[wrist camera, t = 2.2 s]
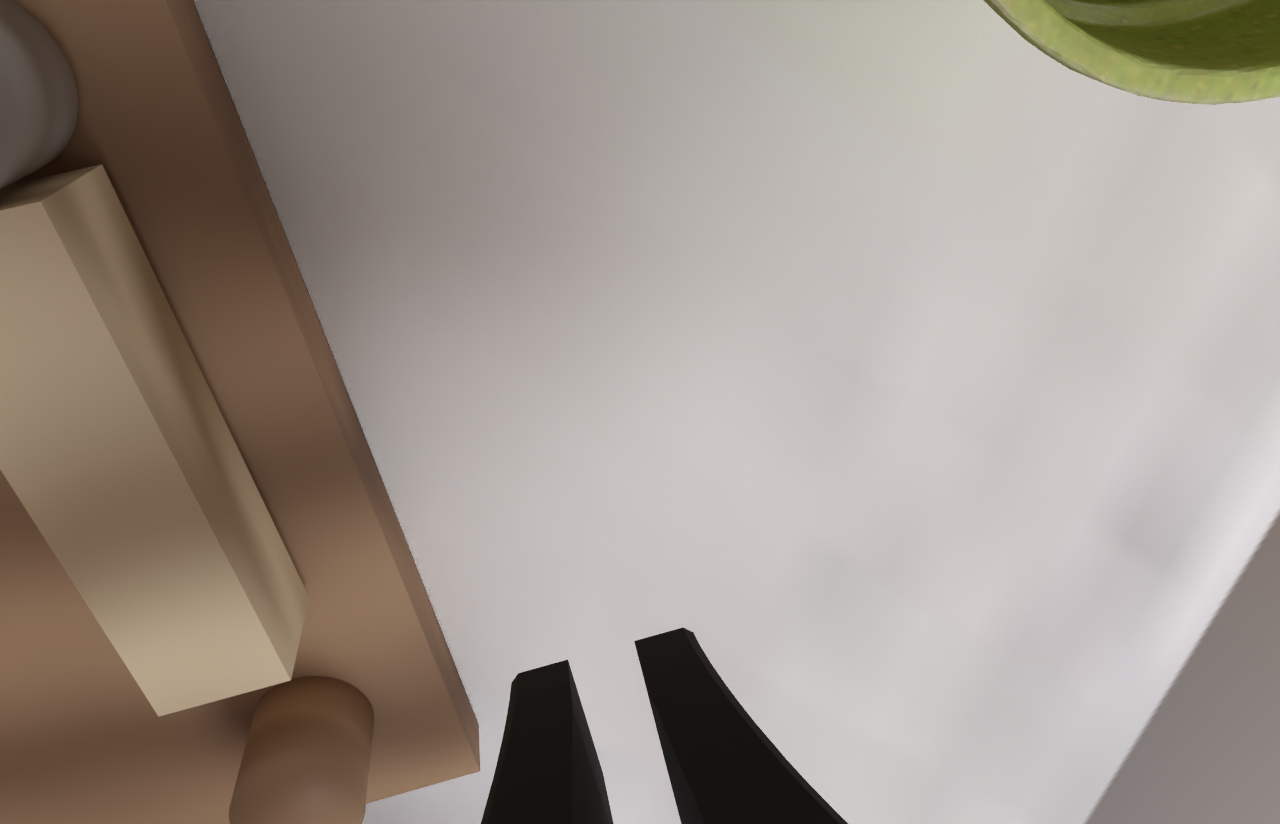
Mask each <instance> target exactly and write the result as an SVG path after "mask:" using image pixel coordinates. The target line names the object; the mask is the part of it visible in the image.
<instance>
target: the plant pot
mask: <svg viewBox="0 0 1280 824" xmlns="http://www.w3.org/2000/svg"><path fill="white" fill-rule="evenodd" d="M984 1H985V2H986V3H987V4H988V5H989V6H990V7H991V8H992V9H993V10H994V11H995V12H996V13H997V14H998V15H999V16H1000V17H1001V18H1002V19H1004V20H1005V21H1006V22H1007V23H1008V24H1009V25H1010V26H1011V27H1012V28H1013V29H1014V30H1015V31H1016V32H1017V33H1018V34H1020V35H1021V36H1022V37H1023V38H1024V39H1025V40H1027V41H1028V42H1029V43H1031V44H1032V45H1033V46H1035V47H1036V48H1038V49H1039V50H1040V51H1042V52H1043V53H1045V54H1046V55H1048V56H1050V57H1051V58H1053V59H1054V60H1056V61H1058V62H1059V63H1061V64H1062V65H1064V66H1066V67H1067V68H1069V69H1071V70H1073V71H1076V72H1078V73H1080V74H1083V75H1085V76H1087V77H1090V78H1092V79H1094V80H1097V81H1099V82H1102V83H1104V84H1107V85H1109V86H1112V87H1115V88H1118V89H1121V90H1124V91H1127V92H1130V93H1133V94H1136V95H1138V96H1144V97H1148V98H1153V99H1158V100H1164V101H1172V102H1182V103H1193V104H1214V105H1215V104H1223V103H1240V102H1248V101H1255V100H1262V99H1267V98H1273V97H1279V96H1280V0H984Z"/></svg>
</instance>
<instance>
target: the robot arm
mask: <svg viewBox="0 0 1280 824" xmlns="http://www.w3.org/2000/svg"><path fill="white" fill-rule="evenodd" d="M635 645H636V649H637V653H638V657H639V661H640V665H641V668H642V672H643V676H644V680H645V684H646V688H647V692H648V696H649V700H650V704H651V708H652V711H653V715H654V719H655V723H656V727H657V731H658V735H659V739H660V743H661V747H662V751H663V755H664V758H665V762H666V766H667V770H668V774H669V777H670V781H671V785H672V789H673V793H674V797H675V800H676V804H677V808H678V812H679V816H680V820H681V823H682V824H848V823H847V822H846V821H845V820H844V819H843V818H842V817H841V816H840V815H839V814H838V813H837V812H836V811H835V810H834V809H833V808H832V807H831V806H830V805H829V804H828V803H827V802H826V801H825V800H824V799H823V798H822V797H821V796H820V795H819V794H818V793H817V792H816V791H815V790H814V789H813V788H812V787H811V786H810V785H809V784H808V783H807V781H806V780H805V779H804V778H803V777H802V776H801V775H800V774H799V773H798V772H797V771H796V769H795V768H794V767H793V766H792V765H791V764H790V763H789V762H788V761H787V760H786V758H785V757H784V756H783V755H782V754H781V753H780V751H779V750H778V749H777V748H776V747H775V746H774V744H773V743H772V742H771V741H770V740H769V739H768V737H767V736H766V735H765V734H764V733H763V732H762V730H761V729H760V728H759V727H758V726H757V725H756V723H755V722H754V721H753V720H752V718H751V717H750V716H749V715H748V713H747V712H746V711H745V710H744V708H743V707H742V706H741V705H740V703H739V702H738V701H737V699H736V698H735V697H734V695H733V694H732V693H731V691H730V690H729V689H728V687H727V686H726V685H725V683H724V682H723V680H722V679H721V678H720V676H719V675H718V673H717V672H716V670H715V669H714V667H713V666H712V664H711V663H710V661H709V660H708V658H707V657H706V655H705V653H704V652H703V650H702V648H701V647H700V645H699V643H698V641H697V639H696V637H695V635H694V633H693V632H691V631H689V630H687V629H685V628H680V629H677V630H673V631H669V632H666V633H662V634H659V635H655V636H651V637H648V638H644V639H641V640H637V641H635ZM481 824H613V820H612V815H611V810H610V806H609V801H608V796H607V791H606V787H605V782H604V777H603V772H602V769H601V766H600V763H599V760H598V756H597V753H596V750H595V747H594V743H593V740H592V737H591V734H590V730H589V727H588V724H587V721H586V717H585V714H584V711H583V708H582V704H581V701H580V698H579V695H578V692H577V688H576V685H575V682H574V679H573V675H572V672H571V669H570V666H569V662H568V660H565V661H562V662H558V663H554V664H551V665H547V666H544V667H540V668H536V669H533V670H529V671H526V672H522V673H519V674H518V675H517V676H516V678H515V679H514V680H513V682H512V685H511V693H510V701H509V708H508V714H507V719H506V725H505V730H504V735H503V740H502V744H501V749H500V753H499V757H498V762H497V766H496V770H495V774H494V778H493V782H492V786H491V789H490V793H489V796H488V800H487V804H486V807H485V811H484V815H483V818H482V822H481Z"/></svg>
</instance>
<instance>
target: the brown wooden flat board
mask: <svg viewBox="0 0 1280 824" xmlns="http://www.w3.org/2000/svg"><path fill="white" fill-rule="evenodd" d="M12 1H14V2H15V3H17V4H19V5H20V6H21V7H22V8H24V9H25V10H26V11H28V12H29V13H30V14H31V15H32V16H34V17H35V18H36V19H37V20H38V21H39V22H40V23H41V24H42V25H43V26H44V27H45V29H46V30H47V31H48V32H49V33H50V34H51V36H52V37H53V38H54V40H55V41H56V42H57V44H58V45H59V47H60V48H61V50H62V52H63V54H64V55H65V57H66V59H67V61H68V63H69V66H70V68H71V71H72V73H73V76H74V80H75V84H76V87H77V95H78V115H77V122H76V126H75V129H74V132H73V135H72V137H71V139H70V140H69V142H68V144H67V146H66V147H65V148H64V150H63V151H62V152H61V153H60V154H59V155H58V156H57V157H56V158H55V159H54V160H53V161H52V162H50V163H49V164H47V165H46V166H44V167H42V168H41V169H39V170H37V171H35V172H33V173H31V174H29V175H27V176H25V177H23V178H22V179H20V180H18V181H16V182H14V183H12V184H17V183H21V182H26V181H30V180H34V179H39V178H43V177H48V176H52V175H56V174H61V173H65V172H70V171H74V170H78V169H83V168H87V167H92V166H96V165H101V164H102V165H103V167H104V169H105V172H106V174H107V176H108V178H109V180H110V182H111V184H112V186H113V188H114V190H115V192H116V194H117V197H118V199H119V201H120V203H121V205H122V207H123V209H124V211H125V213H126V215H127V217H128V220H129V222H130V224H131V226H132V228H133V230H134V232H135V234H136V236H137V238H138V240H139V243H140V245H141V247H142V249H143V251H144V253H145V255H146V257H147V259H148V261H149V263H150V266H151V268H152V270H153V272H154V274H155V276H156V278H157V280H158V282H159V284H160V286H161V288H162V291H163V293H164V295H165V297H166V299H167V301H168V303H169V305H170V307H171V309H172V311H173V314H174V316H175V318H176V320H177V322H178V324H179V326H180V328H181V330H182V332H183V334H184V337H185V339H186V341H187V343H188V345H189V347H190V349H191V351H192V353H193V355H194V357H195V360H196V362H197V364H198V366H199V368H200V370H201V372H202V374H203V376H204V378H205V380H206V383H207V385H208V387H209V389H210V391H211V393H212V395H213V397H214V399H215V401H216V403H217V405H218V408H219V410H220V412H221V414H222V416H223V418H224V420H225V422H226V424H227V426H228V428H229V431H230V433H231V435H232V437H233V439H234V441H235V443H236V445H237V447H238V449H239V451H240V454H241V456H242V458H243V460H244V462H245V464H246V466H247V468H248V470H249V472H250V474H251V477H252V479H253V481H254V483H255V485H256V487H257V489H258V491H259V493H260V495H261V497H262V499H263V502H264V504H265V506H266V508H267V510H268V512H269V514H270V516H271V518H272V520H273V522H274V525H275V527H276V529H277V531H278V533H279V535H280V537H281V539H282V541H283V543H284V545H285V548H286V550H287V552H288V554H289V556H290V558H291V560H292V562H293V564H294V566H295V568H296V571H297V573H298V575H299V577H300V579H301V581H302V583H303V585H304V587H305V589H306V591H307V594H308V596H309V601H308V606H307V610H306V615H305V619H304V624H303V628H302V633H301V637H300V642H299V646H298V651H297V655H296V660H295V664H294V669H293V673H292V678H291V681H287V682H284V683H280V684H276V685H273V686H269V687H265V688H262V689H258V690H254V691H251V692H247V693H243V694H240V695H236V696H232V697H229V698H225V699H221V700H218V701H214V702H210V703H207V704H203V705H199V706H196V707H192V708H189V709H185V710H181V711H178V712H174V713H170V714H167V715H163V716H159V717H158V715H157V713H156V712H155V710H154V709H153V707H152V706H151V704H150V702H149V701H148V699H147V698H146V696H145V695H144V693H143V692H142V690H141V688H140V687H139V685H138V684H137V682H136V681H135V679H134V677H133V676H132V674H131V673H130V671H129V670H128V668H127V667H126V665H125V663H124V662H123V660H122V659H121V657H120V656H119V654H118V652H117V651H116V649H115V648H114V646H113V645H112V643H111V642H110V640H109V638H108V637H107V635H106V634H105V632H104V631H103V629H102V627H101V626H100V624H99V623H98V621H97V620H96V618H95V617H94V615H93V613H92V612H91V610H90V609H89V607H88V606H87V604H86V602H85V601H84V599H83V598H82V596H81V595H80V593H79V592H78V590H77V588H76V587H75V585H74V584H73V582H72V581H71V579H70V577H69V576H68V574H67V573H66V571H65V570H64V568H63V567H62V565H61V563H60V562H59V560H58V559H57V557H56V556H55V554H54V552H53V551H52V549H51V548H50V546H49V545H48V543H47V542H46V540H45V538H44V537H43V535H42V534H41V532H40V531H39V529H38V527H37V526H36V524H35V523H34V521H33V520H32V518H31V517H30V515H29V513H28V512H27V510H26V509H25V507H24V506H23V504H22V502H21V501H20V499H19V498H18V496H17V495H16V493H15V492H14V490H13V488H12V487H11V485H10V484H9V482H8V481H7V479H6V477H5V476H4V474H3V473H2V471H1V470H0V824H361V823H362V821H363V818H364V814H365V806H366V803H370V802H373V801H377V800H380V799H384V798H387V797H391V796H394V795H398V794H401V793H405V792H408V791H412V790H415V789H419V788H422V787H426V786H429V785H433V784H436V783H440V782H443V781H447V780H450V779H454V778H457V777H461V776H464V775H468V774H471V773H475V772H478V771H480V754H479V725H478V722H477V720H476V717H475V715H474V712H473V710H472V707H471V704H470V702H469V699H468V697H467V694H466V692H465V689H464V687H463V684H462V682H461V679H460V677H459V674H458V671H457V669H456V666H455V664H454V661H453V659H452V656H451V654H450V651H449V649H448V646H447V644H446V641H445V638H444V636H443V633H442V631H441V628H440V626H439V623H438V621H437V618H436V616H435V613H434V611H433V608H432V606H431V603H430V600H429V598H428V595H427V593H426V590H425V588H424V585H423V583H422V580H421V578H420V575H419V573H418V570H417V567H416V565H415V562H414V560H413V557H412V555H411V552H410V550H409V547H408V545H407V542H406V540H405V537H404V534H403V532H402V529H401V527H400V524H399V522H398V519H397V517H396V514H395V512H394V509H393V507H392V504H391V502H390V499H389V496H388V494H387V491H386V489H385V486H384V484H383V481H382V479H381V476H380V474H379V471H378V469H377V466H376V463H375V461H374V458H373V456H372V453H371V451H370V448H369V446H368V443H367V441H366V438H365V436H364V433H363V430H362V428H361V425H360V423H359V420H358V418H357V415H356V413H355V410H354V408H353V405H352V403H351V400H350V398H349V395H348V392H347V390H346V387H345V385H344V382H343V380H342V377H341V375H340V372H339V370H338V367H337V365H336V362H335V359H334V357H333V354H332V352H331V349H330V347H329V344H328V342H327V339H326V337H325V334H324V332H323V329H322V326H321V324H320V321H319V319H318V316H317V314H316V311H315V309H314V306H313V304H312V301H311V299H310V296H309V294H308V291H307V288H306V286H305V283H304V281H303V278H302V276H301V273H300V271H299V268H298V266H297V263H296V261H295V258H294V255H293V253H292V250H291V248H290V245H289V243H288V240H287V238H286V235H285V233H284V230H283V228H282V225H281V222H280V220H279V217H278V215H277V212H276V210H275V207H274V205H273V202H272V200H271V197H270V195H269V192H268V189H267V187H266V184H265V182H264V179H263V177H262V174H261V172H260V169H259V167H258V164H257V162H256V159H255V157H254V154H253V151H252V149H251V146H250V144H249V141H248V139H247V136H246V134H245V131H244V129H243V126H242V124H241V121H240V118H239V116H238V113H237V111H236V108H235V106H234V103H233V101H232V98H231V96H230V93H229V91H228V88H227V85H226V83H225V80H224V78H223V75H222V73H221V70H220V68H219V65H218V63H217V60H216V58H215V55H214V53H213V50H212V47H211V45H210V42H209V40H208V37H207V35H206V32H205V30H204V27H203V25H202V22H201V20H200V17H199V14H198V12H197V9H196V7H195V4H194V2H193V0H12ZM12 184H10V185H12Z"/></svg>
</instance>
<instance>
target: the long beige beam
mask: <svg viewBox="0 0 1280 824" xmlns="http://www.w3.org/2000/svg"><path fill="white" fill-rule="evenodd" d="M77 115H78V95H77V87H76V84H75V80H74V76H73V73H72V71H71V68H70V66H69V63H68V61H67V59H66V57H65V55H64V54H63V52H62V50H61V48H60V47H59V45H58V44H57V42H56V41H55V40H54V38H53V37H52V36H51V34H50V33H49V32H48V31H47V30H46V29H45V27H44V26H43V25H42V24H41V23H40V22H39V21H38V20H37V19H36V18H35V17H34V16H32V15H31V14H30V13H29V12H28V11H26V10H25V9H24V8H22V7H21V6H20V5H19V4H17V3H15V2H14V1H12V0H0V470H1V471H2V473H3V474H4V476H5V477H6V479H7V481H8V482H9V484H10V485H11V487H12V488H13V490H14V492H15V493H16V495H17V496H18V498H19V499H20V501H21V502H22V504H23V506H24V507H25V509H26V510H27V512H28V513H29V515H30V517H31V518H32V520H33V521H34V523H35V524H36V526H37V527H38V529H39V531H40V532H41V534H42V535H43V537H44V538H45V540H46V542H47V543H48V545H49V546H50V548H51V549H52V551H53V552H54V554H55V556H56V557H57V559H58V560H59V562H60V563H61V565H62V567H63V568H64V570H65V571H66V573H67V574H68V576H69V577H70V579H71V581H72V582H73V584H74V585H75V587H76V588H77V590H78V592H79V593H80V595H81V596H82V598H83V599H84V601H85V602H86V604H87V606H88V607H89V609H90V610H91V612H92V613H93V615H94V617H95V618H96V620H97V621H98V623H99V624H100V626H101V627H102V629H103V631H104V632H105V634H106V635H107V637H108V638H109V640H110V642H111V643H112V645H113V646H114V648H115V649H116V651H117V652H118V654H119V656H120V657H121V659H122V660H123V662H124V663H125V665H126V667H127V668H128V670H129V671H130V673H131V674H132V676H133V677H134V679H135V681H136V682H137V684H138V685H139V687H140V688H141V690H142V692H143V693H144V695H145V696H146V698H147V699H148V701H149V702H150V704H151V706H152V707H153V709H154V710H155V712H156V713H157V715H158V717H159V716H163V715H167V714H170V713H174V712H178V711H181V710H185V709H189V708H192V707H196V706H199V705H203V704H207V703H210V702H214V701H218V700H221V699H225V698H229V697H232V696H236V695H240V694H243V693H247V692H251V691H254V690H258V689H262V688H265V687H269V686H273V685H276V684H280V683H284V682H287V681H291V678H292V673H293V669H294V664H295V660H296V655H297V651H298V646H299V642H300V637H301V633H302V628H303V624H304V619H305V615H306V610H307V606H308V601H309V596H308V594H307V591H306V589H305V587H304V585H303V583H302V581H301V579H300V577H299V575H298V573H297V571H296V568H295V566H294V564H293V562H292V560H291V558H290V556H289V554H288V552H287V550H286V548H285V545H284V543H283V541H282V539H281V537H280V535H279V533H278V531H277V529H276V527H275V525H274V522H273V520H272V518H271V516H270V514H269V512H268V510H267V508H266V506H265V504H264V502H263V499H262V497H261V495H260V493H259V491H258V489H257V487H256V485H255V483H254V481H253V479H252V477H251V474H250V472H249V470H248V468H247V466H246V464H245V462H244V460H243V458H242V456H241V454H240V451H239V449H238V447H237V445H236V443H235V441H234V439H233V437H232V435H231V433H230V431H229V428H228V426H227V424H226V422H225V420H224V418H223V416H222V414H221V412H220V410H219V408H218V405H217V403H216V401H215V399H214V397H213V395H212V393H211V391H210V389H209V387H208V385H207V383H206V380H205V378H204V376H203V374H202V372H201V370H200V368H199V366H198V364H197V362H196V360H195V357H194V355H193V353H192V351H191V349H190V347H189V345H188V343H187V341H186V339H185V337H184V334H183V332H182V330H181V328H180V326H179V324H178V322H177V320H176V318H175V316H174V314H173V311H172V309H171V307H170V305H169V303H168V301H167V299H166V297H165V295H164V293H163V291H162V288H161V286H160V284H159V282H158V280H157V278H156V276H155V274H154V272H153V270H152V268H151V266H150V263H149V261H148V259H147V257H146V255H145V253H144V251H143V249H142V247H141V245H140V243H139V240H138V238H137V236H136V234H135V232H134V230H133V228H132V226H131V224H130V222H129V220H128V217H127V215H126V213H125V211H124V209H123V207H122V205H121V203H120V201H119V199H118V197H117V194H116V192H115V190H114V188H113V186H112V184H111V182H110V180H109V178H108V176H107V174H106V172H105V169H104V167H103V165H102V164H101V165H96V166H92V167H87V168H83V169H78V170H74V171H70V172H65V173H61V174H56V175H52V176H48V177H43V178H39V179H34V180H30V181H26V182H21V183H17V184H12V183H14V182H16V181H18V180H20V179H22V178H23V177H25V176H27V175H29V174H31V173H33V172H35V171H37V170H39V169H41V168H42V167H44V166H46V165H47V164H49V163H50V162H52V161H53V160H54V159H55V158H56V157H57V156H58V155H59V154H60V153H61V152H62V151H63V150H64V148H65V147H66V146H67V144H68V142H69V140H70V139H71V137H72V135H73V132H74V129H75V126H76V122H77ZM10 184H12V185H10Z"/></svg>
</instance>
